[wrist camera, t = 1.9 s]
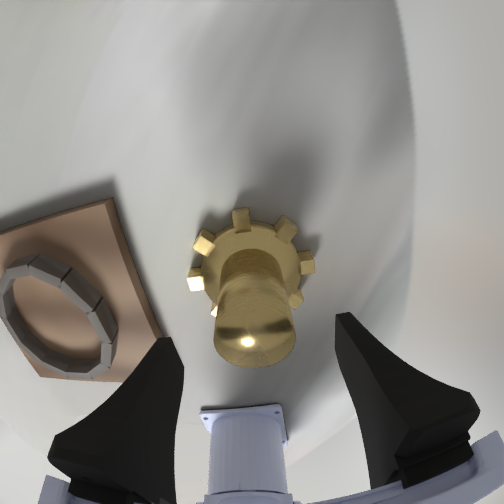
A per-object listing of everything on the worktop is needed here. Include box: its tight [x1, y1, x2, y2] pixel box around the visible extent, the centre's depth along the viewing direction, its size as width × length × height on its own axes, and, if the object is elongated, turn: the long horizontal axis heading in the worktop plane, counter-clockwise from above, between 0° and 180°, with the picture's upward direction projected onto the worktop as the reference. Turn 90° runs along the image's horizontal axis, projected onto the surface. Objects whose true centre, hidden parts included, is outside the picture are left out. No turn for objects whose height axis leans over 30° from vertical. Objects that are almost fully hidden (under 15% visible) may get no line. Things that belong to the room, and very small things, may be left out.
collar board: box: [0, 198, 163, 382], centre depth 19 cm, size 15×16×3 cm
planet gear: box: [187, 208, 315, 368], centre depth 16 cm, size 8×8×7 cm
